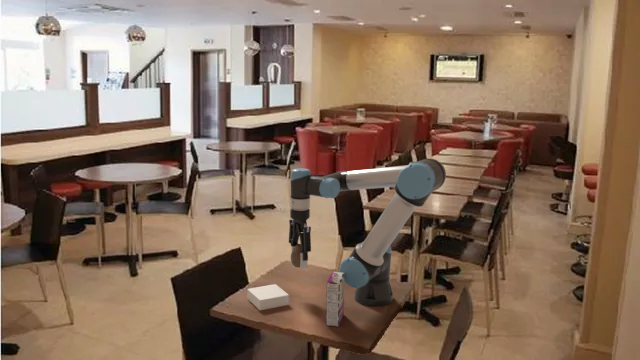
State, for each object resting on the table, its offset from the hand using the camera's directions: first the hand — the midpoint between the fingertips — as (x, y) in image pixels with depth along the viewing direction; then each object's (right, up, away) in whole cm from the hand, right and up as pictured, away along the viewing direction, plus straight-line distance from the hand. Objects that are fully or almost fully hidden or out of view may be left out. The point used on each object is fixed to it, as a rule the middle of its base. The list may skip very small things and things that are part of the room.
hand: (299, 264), depth 229 cm
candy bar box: (+14, -17, -20) cm, 29 cm away
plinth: (-12, -13, -6) cm, 19 cm away
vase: (0, -1, 0) cm, 1 cm away
